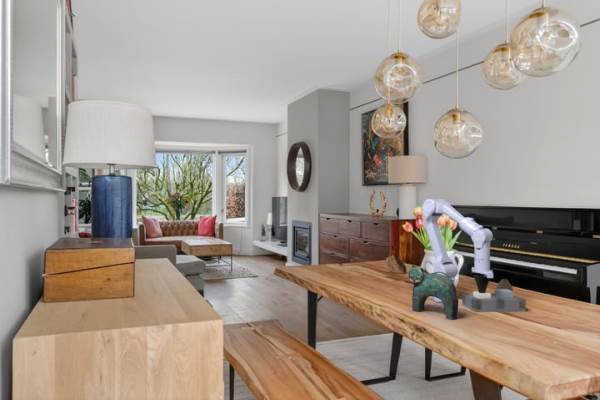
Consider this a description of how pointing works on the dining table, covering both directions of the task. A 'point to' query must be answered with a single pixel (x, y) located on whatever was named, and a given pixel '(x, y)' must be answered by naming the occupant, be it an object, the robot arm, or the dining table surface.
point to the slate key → (503, 293)
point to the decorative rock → (395, 265)
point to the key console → (494, 303)
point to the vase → (504, 285)
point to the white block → (481, 295)
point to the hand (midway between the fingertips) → (482, 292)
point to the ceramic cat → (433, 290)
